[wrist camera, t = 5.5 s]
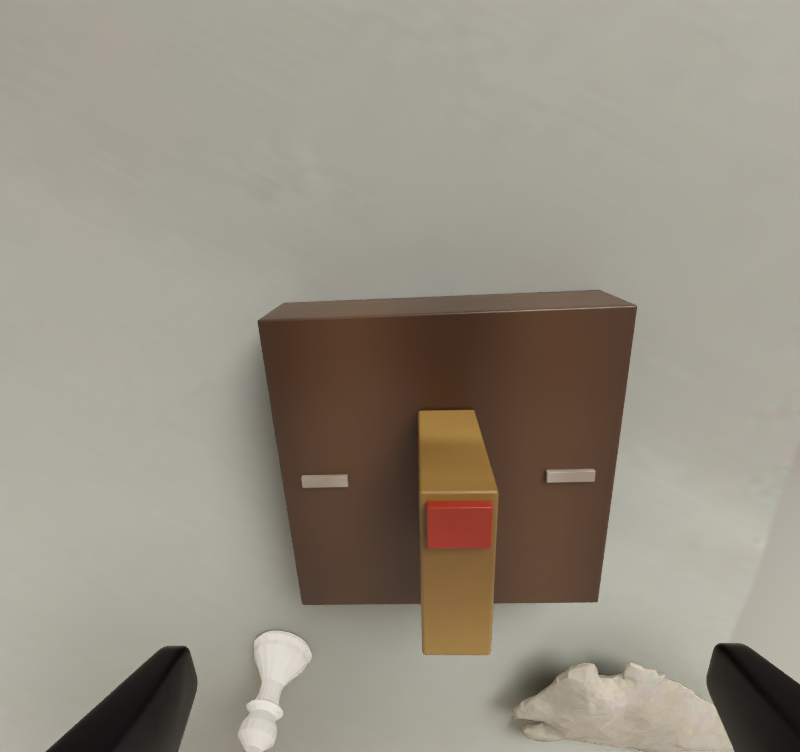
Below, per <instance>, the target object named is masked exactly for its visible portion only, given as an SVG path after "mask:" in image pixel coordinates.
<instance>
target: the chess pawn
mask: <svg viewBox="0 0 800 752" xmlns="http://www.w3.org/2000/svg"><path fill="white" fill-rule="evenodd" d="M254 650H255V652H254V659H255V663H256V665H257V667H258V670H259V674H260V678H261V682H262V684H261V687H260V690H259V693H258V695H257V697H256V699H255V700H253V701H250V702H249V703H248V704H247V705H246V709H247V710H248V712H249V715H248V716H247V717H246V718H245V719H244V720H243V721H242V723H241V725H240V728H239V731H238V739H239V740H240V742H241V744H242V746H243V748H244V749H245V751H246V752H264V751H266V750H267V749H269V748H271V747H272V746H273V745H274V743H275V740H276V736H277V724H276V721H277V720H279V719H280V718H281V717H282V716H283V711H282V709H281V708H280V707H279V700H280V696H281V692H282V689H283V688H284V687H285V686H286V685H287V684H288V683H289V682H290V681H291V680H292V679H294V678H295V677H297V676H298V675H299V674H300V673H301V672H302V671H303V670H304V669H305V667H306V665H307V664H308V663H309V662H310V661H311V658H312V653H311V652H310V648H309V646H308V644H307V643H306V642H305V641H304V640H303V639H301V638H300V637H298V636H296V635H294V634H292V633H289V632H285V631H268V632H265V633H263V634H262V635H261V636H259V637H258V638H257V639H256V640H255V641H254Z"/></svg>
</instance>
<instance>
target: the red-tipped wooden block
mask: <svg viewBox="0 0 800 752" xmlns="http://www.w3.org/2000/svg"><path fill="white" fill-rule="evenodd" d="M418 478H419V530H420V574H421V618H422V651H423V654H425V655H490V653H491V641H492V620H493V599H494V579H495V558H496V537H497V517H498V496H499V492H498V489H497V485H496V482H495V478H494V475H493V472H492V468H491V465H490V462H489V458H488V455H487V452H486V448H485V445H484V441H483V438H482V435H481V431H480V428H479V425H478V421H477V418H476V414H475V411H474V410H433V411H419V412H418Z"/></svg>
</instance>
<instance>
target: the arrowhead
mask: <svg viewBox="0 0 800 752" xmlns="http://www.w3.org/2000/svg"><path fill="white" fill-rule="evenodd" d="M512 717H513V718H517V719H528V720H532V721H542V722H541V723H532V724H526V725H524V726H523V727H522V728H521V729H522V732H523V734H524V735H525V736H526V737H528V738H529V739H533V740H535V741H542V742H548V741H558V740H563V739H567V740H575V741H582V742H590V743H595V744H600V745H607V746H613V747H626V748H633V749H637V750H641V751H644V752H681V751H690V750H697V751H709V752H727V751H729V750H732V749H733V747H732V745H731V742H730V740H729V738H728V735H727V733H726V731H725V729H724V726H723V724H722V722H721V719H720V717H719V715H718V713H717V710H716V708H715V706H714V705H713V704H711V703H709V702H707V701H705V700H703V699H701V698H699V697H697V696H696V695H695V694H694V692H693V691H692V690H690V689H688V688H686V687H684V686H681V684H680V683H678V682H675V681H672V680H670V679H667V678H666V677H665V675H664V674H658V673H657V672H656V670H655V669H645V668H643V667H642V666H640V665H637V664H635V663H632V662H631V663H627V664H625V668H624V670H623V672H622V673H618V674H615V675H610V676H606V675H598V671H597V668H596V667H595V665H594V664H592V663H581V664H577V665H573V666H571V667H570V668H569V669H568V670H566V671H565V672H563V673H561V674H560V675H558V676H557V677H556V678H555V680H554V681H553V682H552V683H551V685H549V686H548V687H546V689H543V690H542V691H541V692H540V693H538V694H537V695H535V696H532V697H529V698H527V699H525V700H523V701H522V702H521V703H520V704H519V705H518V706H517V707H516V708H515V709H514V710H513V716H512Z"/></svg>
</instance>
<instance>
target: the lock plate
mask: <svg viewBox="0 0 800 752" xmlns="http://www.w3.org/2000/svg"><path fill="white" fill-rule="evenodd" d="M636 311H637V306H636V305H634V304H632V303H629V302H627V301H625V300H622V299H620V298H617V297H615V296H613V295H610V294H608V293H605V292H603V291H601V290H587V291H563V292H539V293H515V294H490V295H466V296H442V297H417V298H393V299H369V300H345V301H320V302H296V303H283V304H281V305H280V306H278V307H277V308H275V309H274V310H273V311H271V312H270V313H268V314H267V315H265V316H264V317H262V318H261V319H259V320H258V327H259V334H260V340H261V346H262V353H263V359H264V365H265V372H266V378H267V384H268V391H269V397H270V403H271V410H272V416H273V422H274V429H275V435H276V441H277V448H278V454H279V460H280V467H281V473H282V479H283V486H284V492H285V498H286V505H287V511H288V517H289V524H290V530H291V536H292V543H293V549H294V555H295V562H296V568H297V574H298V581H299V587H300V593H301V600H302V604H303V605H347V604H421V574H420V530H419V478H418V412H419V411H433V410H474V411H475V414H476V418H477V421H478V425H479V428H480V431H481V435H482V438H483V441H484V445H485V448H486V452H487V455H488V458H489V462H490V465H491V468H492V472H493V475H494V478H495V482H496V485H497V489H498V492H499V496H498V517H497V537H496V558H495V579H494V599H493V603H573V602H598V595H599V588H600V580H601V573H602V565H603V558H604V550H605V543H606V535H607V528H608V520H609V513H610V505H611V498H612V490H613V483H614V475H615V468H616V460H617V453H618V445H619V438H620V430H621V423H622V415H623V408H624V400H625V393H626V385H627V378H628V370H629V363H630V355H631V348H632V340H633V333H634V326H635V318H636Z"/></svg>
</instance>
